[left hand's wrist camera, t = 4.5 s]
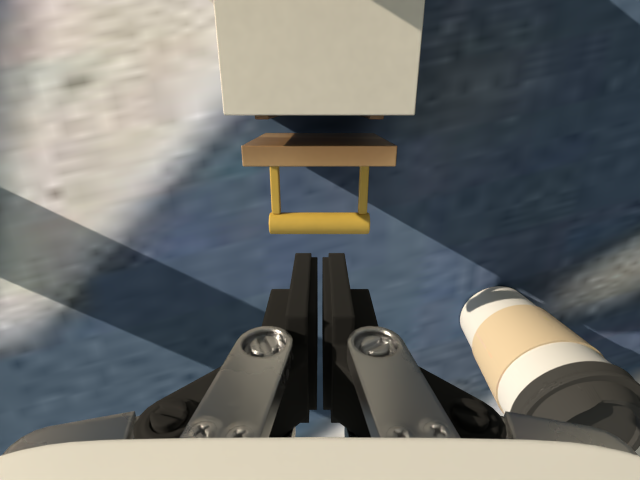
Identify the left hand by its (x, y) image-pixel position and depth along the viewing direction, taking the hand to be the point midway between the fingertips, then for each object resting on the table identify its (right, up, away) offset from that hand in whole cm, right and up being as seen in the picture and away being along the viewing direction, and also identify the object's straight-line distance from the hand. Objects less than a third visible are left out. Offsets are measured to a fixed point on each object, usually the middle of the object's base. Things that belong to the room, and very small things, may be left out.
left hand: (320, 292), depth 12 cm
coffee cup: (+18, -6, +25) cm, 31 cm away
